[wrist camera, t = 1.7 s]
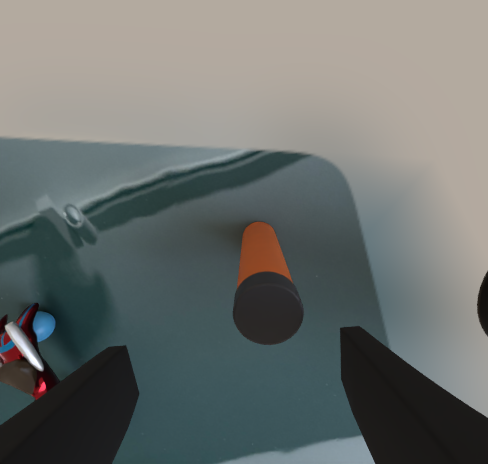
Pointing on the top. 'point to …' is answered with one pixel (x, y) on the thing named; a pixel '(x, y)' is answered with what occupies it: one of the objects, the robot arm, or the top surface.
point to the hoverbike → (26, 352)
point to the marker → (265, 289)
